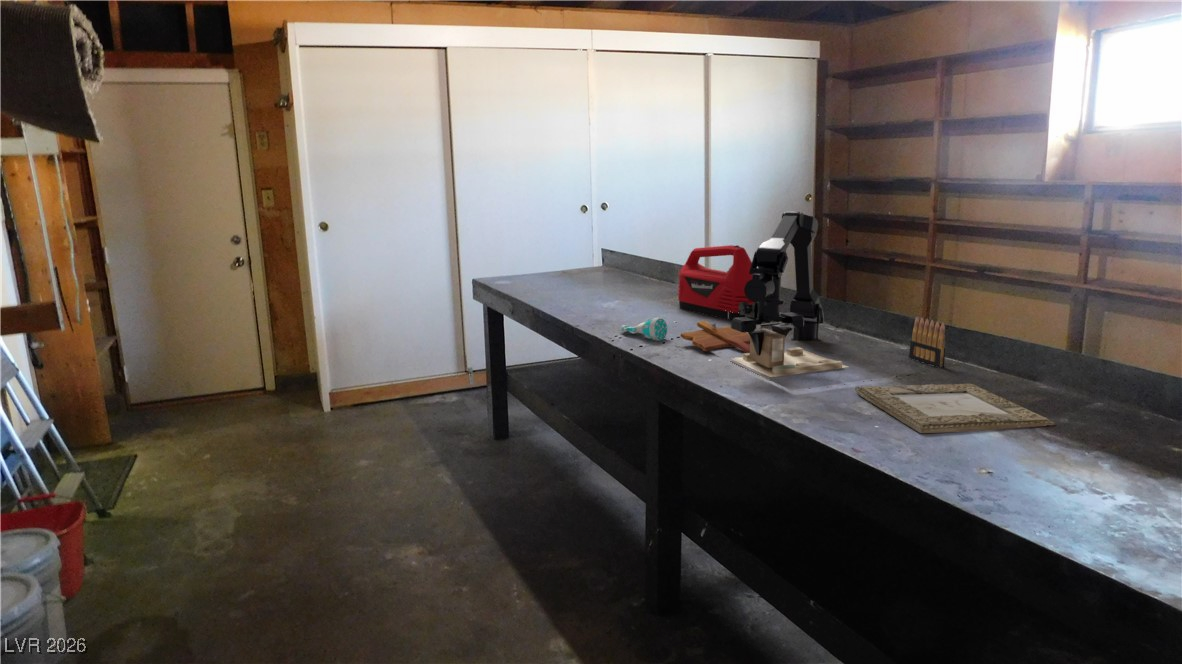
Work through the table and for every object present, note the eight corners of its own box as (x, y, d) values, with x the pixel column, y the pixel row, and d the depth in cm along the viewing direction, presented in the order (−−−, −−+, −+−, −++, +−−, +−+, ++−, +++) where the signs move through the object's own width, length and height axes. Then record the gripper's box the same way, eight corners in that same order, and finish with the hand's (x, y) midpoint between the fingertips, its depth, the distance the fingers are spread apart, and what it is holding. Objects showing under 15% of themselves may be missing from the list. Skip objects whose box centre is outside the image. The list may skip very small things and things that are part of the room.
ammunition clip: (908, 358, 201) (912, 315, 199) (913, 357, 202) (917, 315, 199) (938, 368, 192) (943, 323, 189) (944, 367, 192) (948, 322, 190)
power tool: (698, 301, 287) (700, 237, 282) (774, 318, 255) (778, 246, 249) (667, 306, 279) (668, 240, 273) (742, 324, 247) (744, 250, 241)
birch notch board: (804, 353, 208) (804, 342, 207) (849, 370, 190) (849, 359, 189) (730, 362, 199) (730, 351, 199) (770, 381, 182) (770, 369, 181)
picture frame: (1055, 429, 150) (1057, 417, 150) (920, 435, 146) (921, 423, 145) (970, 390, 176) (972, 380, 175) (853, 395, 171) (854, 384, 171)
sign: (789, 363, 205) (725, 330, 230) (791, 342, 203) (727, 311, 228) (732, 372, 197) (673, 338, 222) (734, 351, 195) (674, 318, 220)
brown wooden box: (763, 357, 197) (765, 328, 195) (784, 366, 188) (785, 335, 187) (749, 359, 195) (750, 330, 194) (769, 368, 187) (770, 337, 185)
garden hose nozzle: (622, 315, 245) (607, 321, 226) (674, 312, 240) (663, 318, 221) (624, 336, 245) (608, 344, 226) (675, 334, 240) (664, 341, 221)
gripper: (781, 288, 199) (778, 344, 202) (721, 293, 192) (719, 350, 196) (806, 294, 188) (803, 353, 192) (743, 300, 182) (741, 360, 186)
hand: (766, 354), depth 192 cm, fingers closed on brown wooden box, 4 cm apart
